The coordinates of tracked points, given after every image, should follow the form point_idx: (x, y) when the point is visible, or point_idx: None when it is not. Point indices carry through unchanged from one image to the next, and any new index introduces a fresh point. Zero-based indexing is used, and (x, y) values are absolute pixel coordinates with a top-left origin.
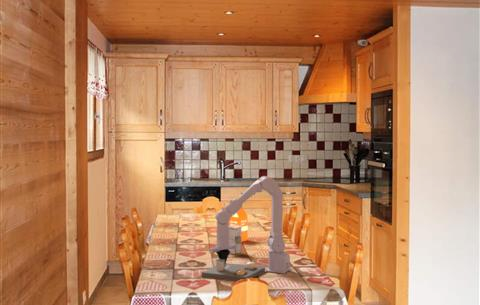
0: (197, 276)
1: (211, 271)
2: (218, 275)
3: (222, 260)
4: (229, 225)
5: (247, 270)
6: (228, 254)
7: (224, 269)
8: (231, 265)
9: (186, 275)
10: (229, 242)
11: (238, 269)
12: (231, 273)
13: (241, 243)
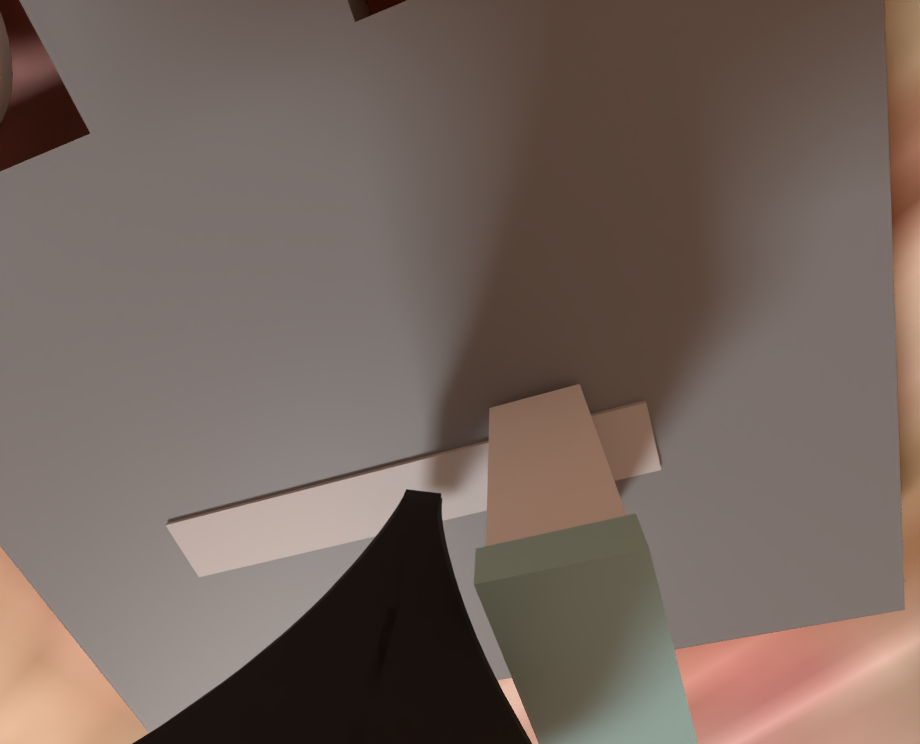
0: None
1: (749, 522)
2: (873, 235)
3: (649, 551)
4: None
5: None
6: (190, 738)
7: (493, 411)
8: (137, 550)
9: (897, 727)
10: None
11: (201, 213)
12: (621, 25)
13: None
